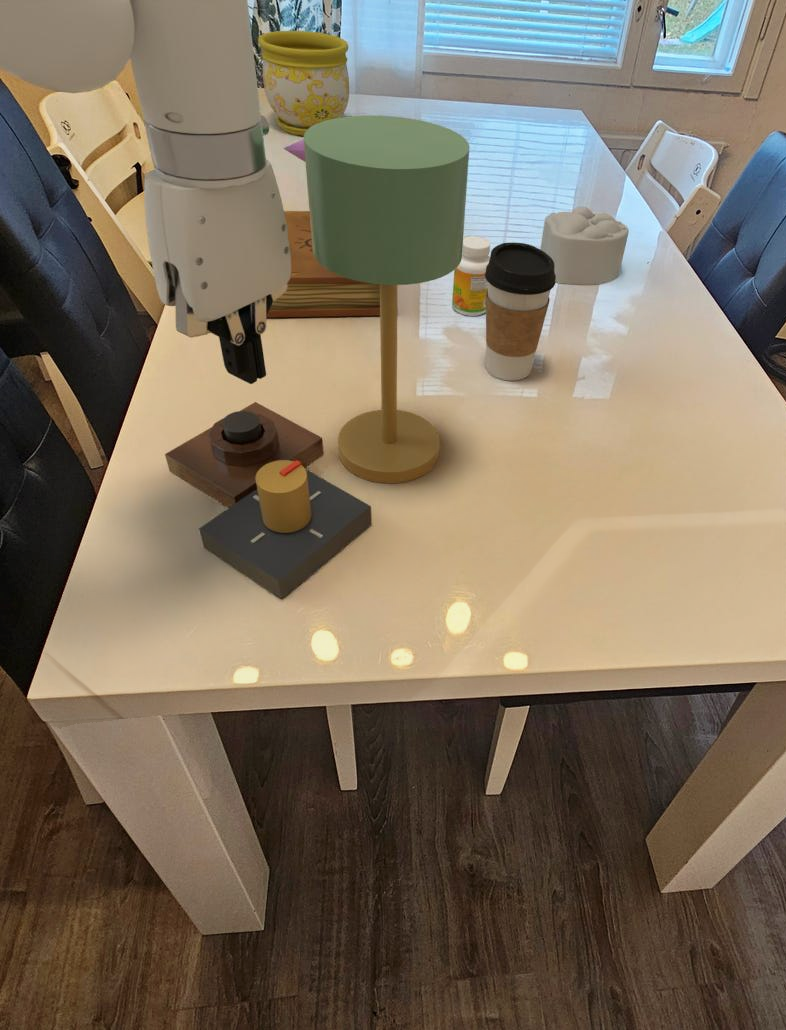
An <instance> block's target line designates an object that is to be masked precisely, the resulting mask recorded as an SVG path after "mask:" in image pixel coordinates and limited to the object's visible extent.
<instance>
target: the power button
mask: <svg viewBox="0 0 786 1030" xmlns="http://www.w3.org/2000/svg"><path fill="white" fill-rule="evenodd" d="M223 418H224V419H223ZM223 418H222V419H223V422H222V425H223V429H224V434H225V439H226V440H227V441H228V442H229V443H230V444H237V445H245V444H250V443H254V442H256V441H257V440H259V439H260V438H261V436H262V430H261V424H260V419H259V417H258V415H256V414H255V413H253V412H249V411H241V410H238V411H234V412H231V413H229V414H227V415H226V416H224V417H223Z"/></svg>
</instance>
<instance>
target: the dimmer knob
mask: <svg viewBox="0 0 786 1030" xmlns="http://www.w3.org/2000/svg"><path fill="white" fill-rule="evenodd" d="M305 469H306V467H303V466H302V465H301V462H299V461H297V460H296V461H289V460H279V461H274V462H270V463H268V464H266V465H264V466H263V467H261V468H260V469H259V471H258V472H257V474H256V485H257V490H258V496H259V502H260V507H261V513H262V518H263V522H264V524H265V525H266V527H267V528H269V529H270V530H272V531H275V532H279V533H291V532H295V531H298V530H300V529H302V528H304V527H305V526H306V525H307V524H308V523H309V521H310V519H311V515H312V513H311V505H310V496H309V487H308V478H307V472H306V470H307V469H306V470H305Z"/></svg>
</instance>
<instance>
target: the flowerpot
mask: <svg viewBox="0 0 786 1030" xmlns="http://www.w3.org/2000/svg"><path fill="white" fill-rule="evenodd" d="M257 41H258V46H259V47H260V48H261V57H262V80H263V88H264V93H265V97H266V99H267V101H268V104H269V106H270V107H271V109H272V111H273V113H275V115H276V118H275V122H276V123H277V125H279V126H280V128H281V129H282V130H283V131H285V132H286V133H288V134H291V135H294V136H302V137H304V134H305V132H306V131H307V130H308V129H309V128H310V127H312V126H313V125H315V124H318V123H320V122H323V121H326V120H331V119H335V118H341V117H343V115H344V114H345V112H346V109H347V108H348V103H349V99H350V77H349V69H348V65H347V62H348V58H347V52H348V50H349V43H348V42H347V40H345V39H344V38H342V37H339V36H336V35H332V34H328V33H323V32H317V31H307V30H277V31H270V32H265V33H263V34H260V36H259V37H258V40H257Z"/></svg>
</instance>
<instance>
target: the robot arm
mask: <svg viewBox="0 0 786 1030" xmlns="http://www.w3.org/2000/svg"><path fill="white" fill-rule="evenodd" d="M249 11H250V9H249V2H248V0H0V70H2V71H4V72H6V73H8V74H10V75H12V76H14V77H16V78H18V79H20V80H22V81H24V82H26V83H28V84H32V85H34V86H36V87H39V88H42V89H45V90H46V89H47V90H49V91H54V92H58V93H67V94H81V93H90V92H93V91H96V90H99V89H102V88H104V87H106V86H108V85H109V84H110V83H112V82H113V81H115V80H116V79H117V78H118V77H119V75H120V74H121V73H122V72H123V71H124V69H125V68H126V66H127V64H128V62H129V61H130V65H131V70H132V75H133V79H134V83H135V88H136V92H137V98H138V101H139V106H140V111H141V114H142V115H141V116H142V118H143V124H144V128H145V133H146V134H145V135H146V138H147V143H148V147H149V151H150V156H151V160H152V164H153V170H150V171H148V172H146V173H144V191H143V193H144V194H143V195H144V198H143V199H144V216H145V227H146V234H147V236H146V237H147V241H148V242H147V243H148V248H149V255H150V262H151V266H152V272H153V277H154V283H155V286H156V291H157V293H158V297H159V300H160V302H161V303H162V304H163V305H165V306H167V307H175V329H176V331H177V332H178V333H180V334H182V335H184V336H186V337H188V338H196V337H201V336H202V337H203V336H207V335H209V334H212V335H214V336H217V337H218V340H219V344H220V350H221V354H222V360H223V365H224V368H225V370H226V372H227V373H228V374H229V375H232V376H233V377H235V378H237V379H239V380H242V381H243V382H245V383H247V384H250V385H253V384H255V383H256V382H257V381H258V379H259V380H262V379H263V378H266V376H267V371H266V362H265V355H264V348H263V342H262V335H263V334H264V333H265V332H266V330H267V324H268V323H267V317H266V316H267V314H268V312H269V309H270V307H271V305H272V302H274V301H275V300H277V299H278V298H279V297H280V296H281V295H282V294H284V293H285V292H286V291H287V288H288V284H287V282H288V281H289V280H290V277H291V254H290V245H289V237H288V231H287V225H286V219H285V214H284V211H285V210H284V205H283V201H282V196H281V193H280V189H279V186H278V181H277V178H276V175H275V173H274V169H273V166H272V163H271V161H270V160H269V159H267V158H266V157H267V156H266V148H265V141H264V140H265V139H264V136H266V135H268V134H269V132H270V124H269V122H268V120H267V118H266V117H265V116H264V115H262V112H261V103H260V95H259V88H258V79H257V71H256V63H255V53H254V44H253V38H252V37H253V36H252V27H251V19H250V12H249Z"/></svg>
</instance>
